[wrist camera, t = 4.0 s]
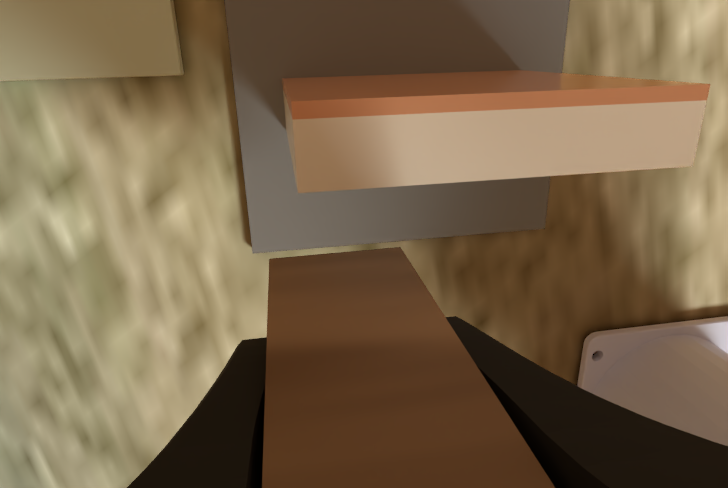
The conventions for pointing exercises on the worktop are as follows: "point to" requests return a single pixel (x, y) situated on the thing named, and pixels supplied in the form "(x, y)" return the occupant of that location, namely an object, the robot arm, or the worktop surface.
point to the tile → (484, 127)
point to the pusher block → (377, 385)
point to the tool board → (88, 39)
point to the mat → (378, 57)
